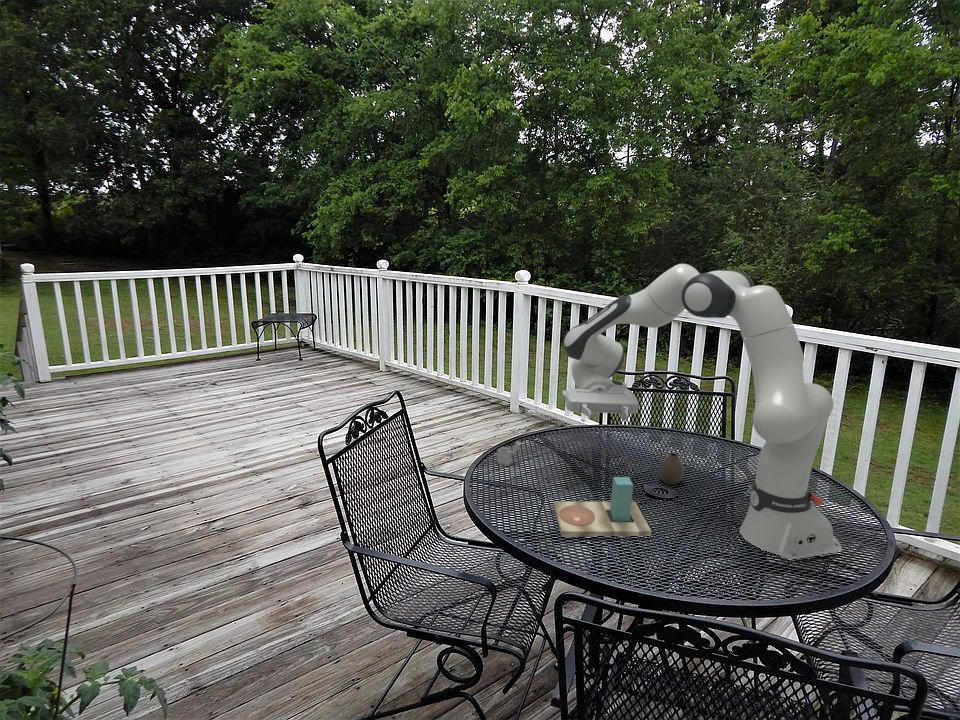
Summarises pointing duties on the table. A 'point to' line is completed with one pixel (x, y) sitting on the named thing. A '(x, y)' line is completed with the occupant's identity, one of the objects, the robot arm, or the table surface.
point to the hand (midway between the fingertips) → (608, 417)
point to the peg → (621, 499)
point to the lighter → (506, 454)
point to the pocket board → (602, 521)
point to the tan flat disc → (577, 515)
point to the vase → (671, 469)
